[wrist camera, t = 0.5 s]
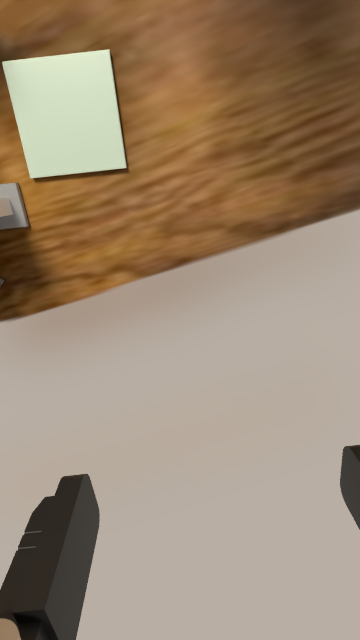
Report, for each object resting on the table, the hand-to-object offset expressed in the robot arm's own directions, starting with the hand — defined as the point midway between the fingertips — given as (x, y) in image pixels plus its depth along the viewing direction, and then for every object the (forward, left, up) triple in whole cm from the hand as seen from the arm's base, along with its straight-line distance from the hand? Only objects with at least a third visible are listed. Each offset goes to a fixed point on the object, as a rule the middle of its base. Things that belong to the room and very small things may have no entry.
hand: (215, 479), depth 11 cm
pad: (-15, -9, -27) cm, 32 cm away
